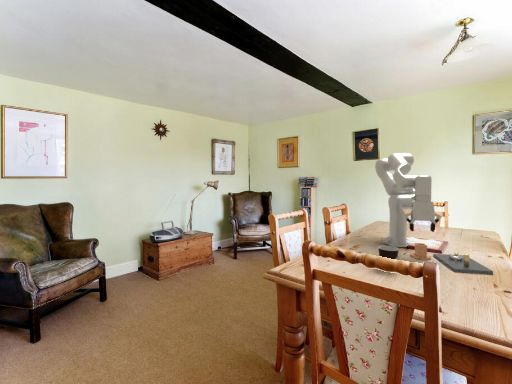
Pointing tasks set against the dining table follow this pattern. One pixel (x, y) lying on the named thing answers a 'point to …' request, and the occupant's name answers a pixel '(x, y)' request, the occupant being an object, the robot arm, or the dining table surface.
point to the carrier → (462, 263)
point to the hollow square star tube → (420, 252)
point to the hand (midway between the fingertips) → (422, 231)
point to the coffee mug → (388, 252)
